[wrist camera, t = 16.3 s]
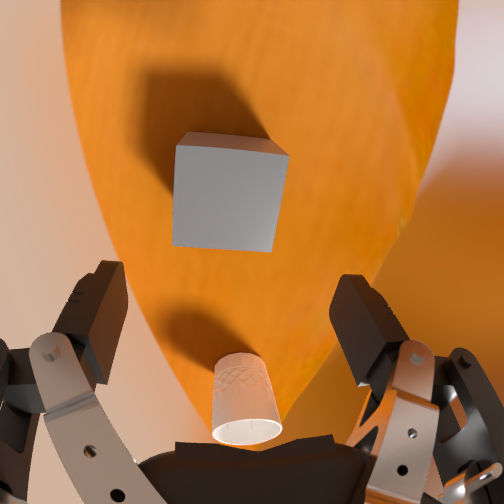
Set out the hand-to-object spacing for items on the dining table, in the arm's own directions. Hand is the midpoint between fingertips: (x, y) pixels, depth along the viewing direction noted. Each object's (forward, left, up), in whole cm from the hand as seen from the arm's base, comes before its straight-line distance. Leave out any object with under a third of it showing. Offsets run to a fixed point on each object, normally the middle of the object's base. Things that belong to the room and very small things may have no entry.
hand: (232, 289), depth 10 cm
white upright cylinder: (+20, +16, -16) cm, 30 cm away
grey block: (0, 0, -15) cm, 15 cm away
